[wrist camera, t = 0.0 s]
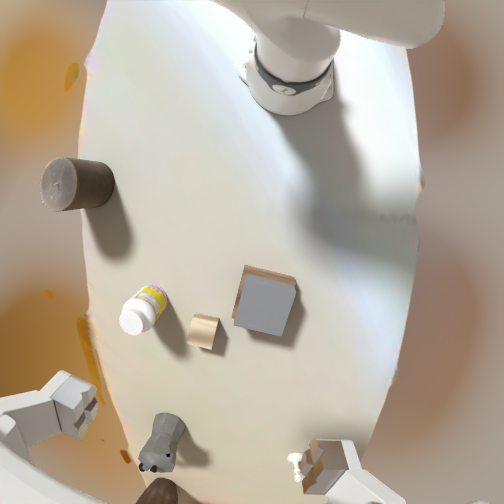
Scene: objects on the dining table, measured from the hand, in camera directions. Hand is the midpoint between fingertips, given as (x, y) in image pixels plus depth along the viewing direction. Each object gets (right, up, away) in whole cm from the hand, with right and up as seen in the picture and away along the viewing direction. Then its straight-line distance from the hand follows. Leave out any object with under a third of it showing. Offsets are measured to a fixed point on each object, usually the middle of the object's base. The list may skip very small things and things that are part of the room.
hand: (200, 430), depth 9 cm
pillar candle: (-31, +21, +46) cm, 59 cm away
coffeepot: (-21, -41, +59) cm, 75 cm away
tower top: (+4, -3, +46) cm, 46 cm away
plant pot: (-29, -75, +66) cm, 104 cm away
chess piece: (+15, -54, +61) cm, 82 cm away
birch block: (-8, -9, +51) cm, 53 cm away
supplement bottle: (-19, -3, +50) cm, 54 cm away
